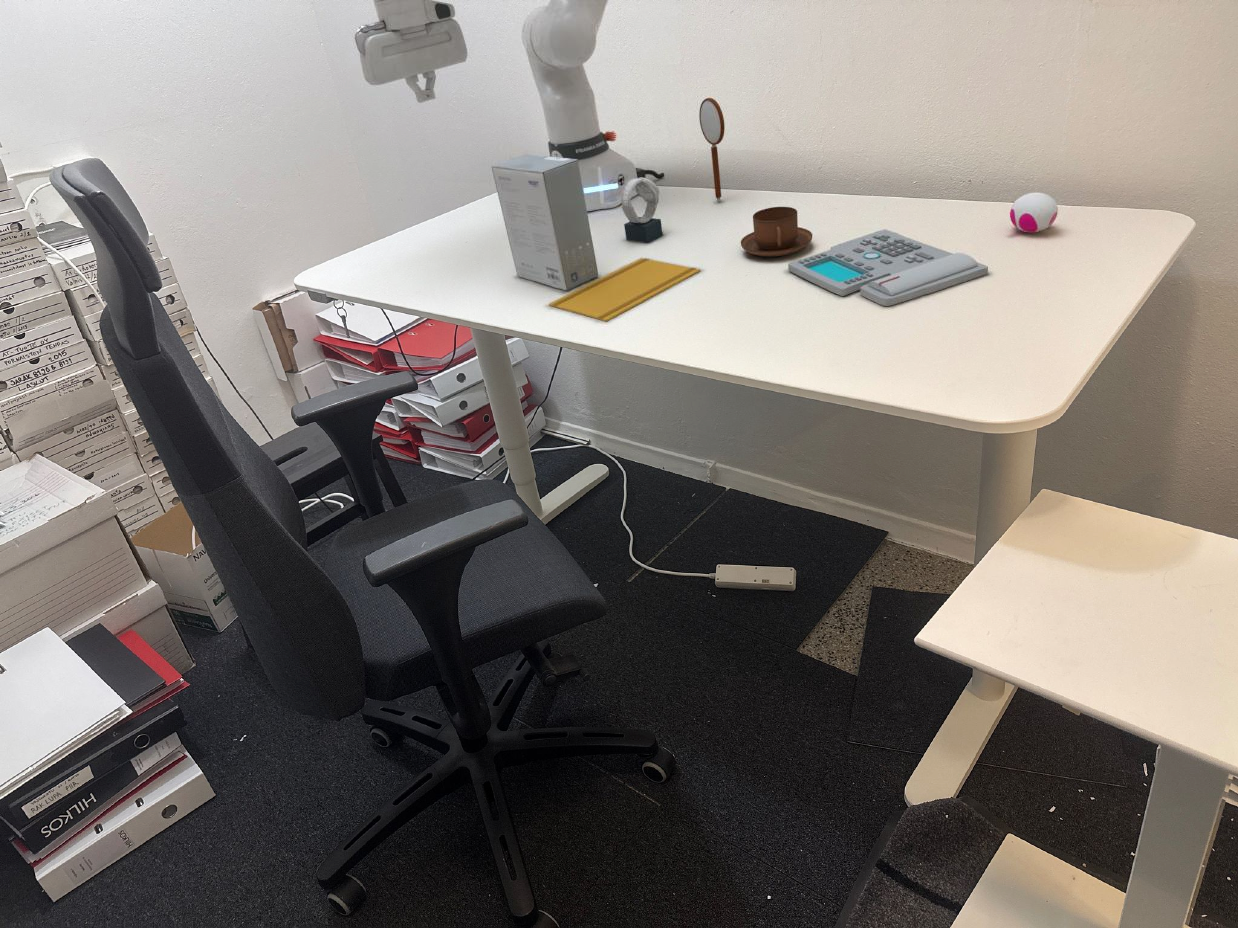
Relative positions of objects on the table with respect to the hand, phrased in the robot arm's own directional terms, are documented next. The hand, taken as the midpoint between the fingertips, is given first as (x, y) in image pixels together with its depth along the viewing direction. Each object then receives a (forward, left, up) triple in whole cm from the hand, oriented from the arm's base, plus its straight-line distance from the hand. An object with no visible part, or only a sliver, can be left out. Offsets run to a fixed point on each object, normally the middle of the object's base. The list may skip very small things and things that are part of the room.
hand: (426, 101), depth 150 cm
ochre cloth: (-1, +45, -29) cm, 54 cm away
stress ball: (-46, +91, -29) cm, 106 cm away
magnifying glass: (-43, +30, -29) cm, 60 cm away
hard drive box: (0, +29, -29) cm, 41 cm away
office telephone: (-23, +79, -29) cm, 87 cm away
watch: (-21, +30, -29) cm, 47 cm away
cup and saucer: (-25, +58, -29) cm, 70 cm away
